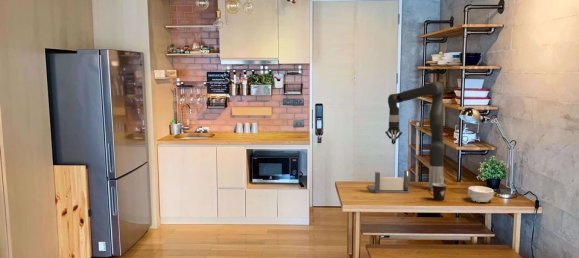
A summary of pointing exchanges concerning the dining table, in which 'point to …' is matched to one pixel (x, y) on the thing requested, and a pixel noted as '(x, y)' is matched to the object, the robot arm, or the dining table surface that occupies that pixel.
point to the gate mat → (372, 190)
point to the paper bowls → (480, 193)
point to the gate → (391, 183)
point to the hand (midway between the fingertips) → (393, 144)
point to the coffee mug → (438, 191)
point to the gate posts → (377, 181)
